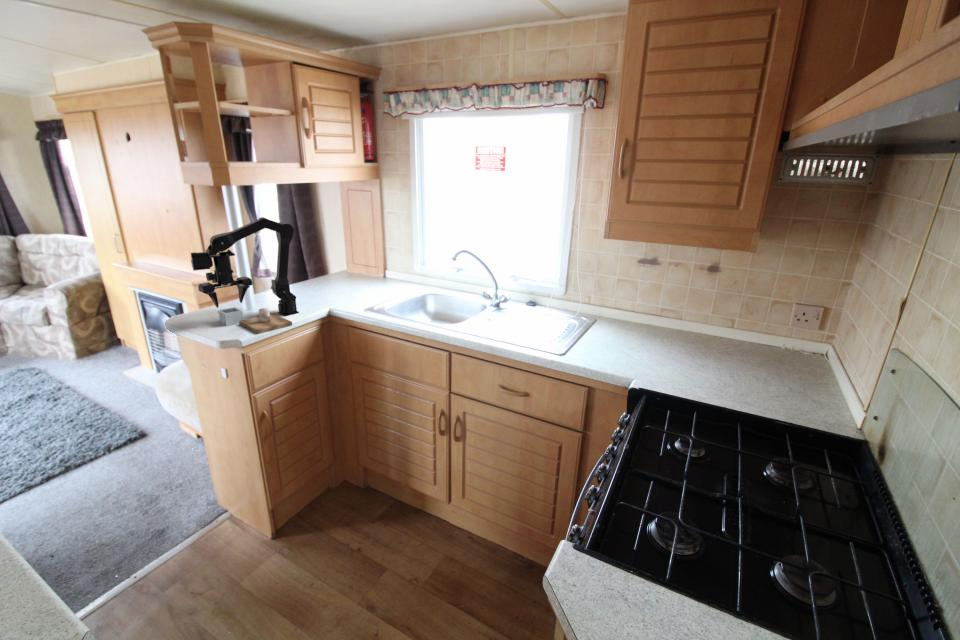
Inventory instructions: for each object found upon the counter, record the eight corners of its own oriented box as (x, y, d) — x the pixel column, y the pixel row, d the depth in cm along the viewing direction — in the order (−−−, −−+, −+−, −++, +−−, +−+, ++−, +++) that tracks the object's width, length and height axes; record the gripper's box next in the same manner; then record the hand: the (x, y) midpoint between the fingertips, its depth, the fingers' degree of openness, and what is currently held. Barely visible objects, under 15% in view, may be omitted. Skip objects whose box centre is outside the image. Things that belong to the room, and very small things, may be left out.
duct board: (273, 316, 195) (271, 302, 193) (292, 325, 185) (290, 310, 183) (239, 324, 185) (237, 309, 183) (258, 334, 175) (255, 318, 173)
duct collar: (236, 318, 191) (234, 307, 190) (243, 322, 187) (241, 310, 186) (220, 322, 187) (218, 310, 185) (226, 325, 183) (225, 314, 181)
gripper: (238, 261, 191) (243, 296, 196) (189, 267, 178) (196, 305, 183) (250, 265, 184) (255, 301, 190) (200, 272, 171) (207, 311, 176)
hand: (229, 305), depth 185 cm, fingers open, 9 cm apart
